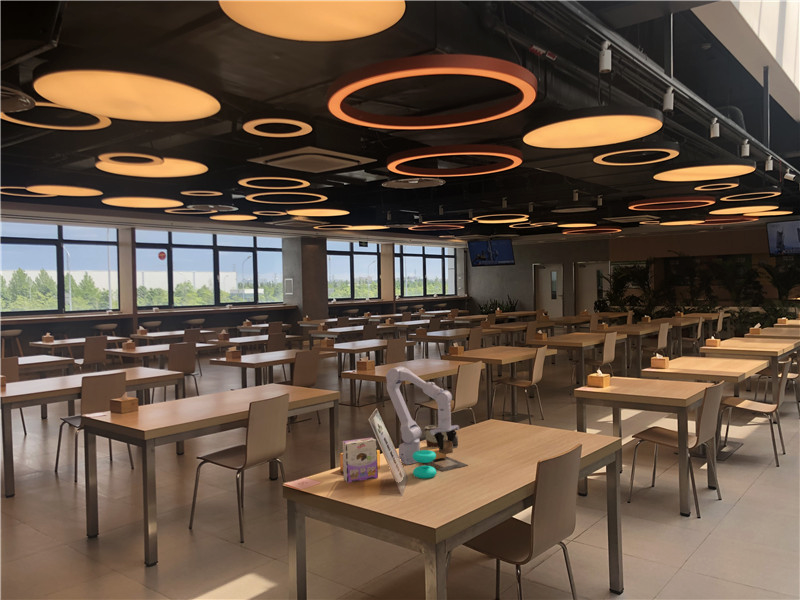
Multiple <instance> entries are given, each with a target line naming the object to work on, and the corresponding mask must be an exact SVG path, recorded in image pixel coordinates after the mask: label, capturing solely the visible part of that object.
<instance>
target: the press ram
mask: <svg viewBox="0 0 800 600" xmlns="http://www.w3.org/2000/svg"><path fill="white" fill-rule="evenodd" d="M458 439H459V438H458V435H456V436H455V438H454V440H453V450H454V449H457V448H458V445H459V440H458ZM429 450H430V451H433V452H435V454H436V458H435V459H439V458H444V457H446V456H447V454H442V453H440V452H439V447H436V448H433V449H429ZM435 459H434V460H435Z"/></svg>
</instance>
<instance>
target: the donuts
mask: <svg viewBox="0 0 800 600" xmlns="http://www.w3.org/2000/svg"><path fill="white" fill-rule="evenodd" d="M430 450H431V449H428V450H427V449H420V450H419V451H416V452H414V453H413V459H414V460H415V461H417V462H418V463H422V464H424V463H427V462H431V461H433V460H434V459H435V458H436V454H435V452H433V451H430ZM412 474H413V476H414V477H415V478H416V479H417V478H418V479H424V480H425V479H426V480H427V479H433V478H434V477H435V476H436V475H437V469H435V468H434V467H432V466H428V465H426V464H424V465H418V466H416V467H415V468H414V469H413V471H412Z"/></svg>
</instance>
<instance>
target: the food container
mask: <svg viewBox="0 0 800 600" xmlns="http://www.w3.org/2000/svg"><path fill="white" fill-rule="evenodd" d="M435 428H438V424H431V425H426V426H424V428H423V432H424V435H425V440H426V448H439V446H438V443H437V440H436V438H435V436H434V435H432V434H430V430H432V429H435ZM441 434H442V435H444V439H443V440H447V434H446V432H444V433H441Z"/></svg>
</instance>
